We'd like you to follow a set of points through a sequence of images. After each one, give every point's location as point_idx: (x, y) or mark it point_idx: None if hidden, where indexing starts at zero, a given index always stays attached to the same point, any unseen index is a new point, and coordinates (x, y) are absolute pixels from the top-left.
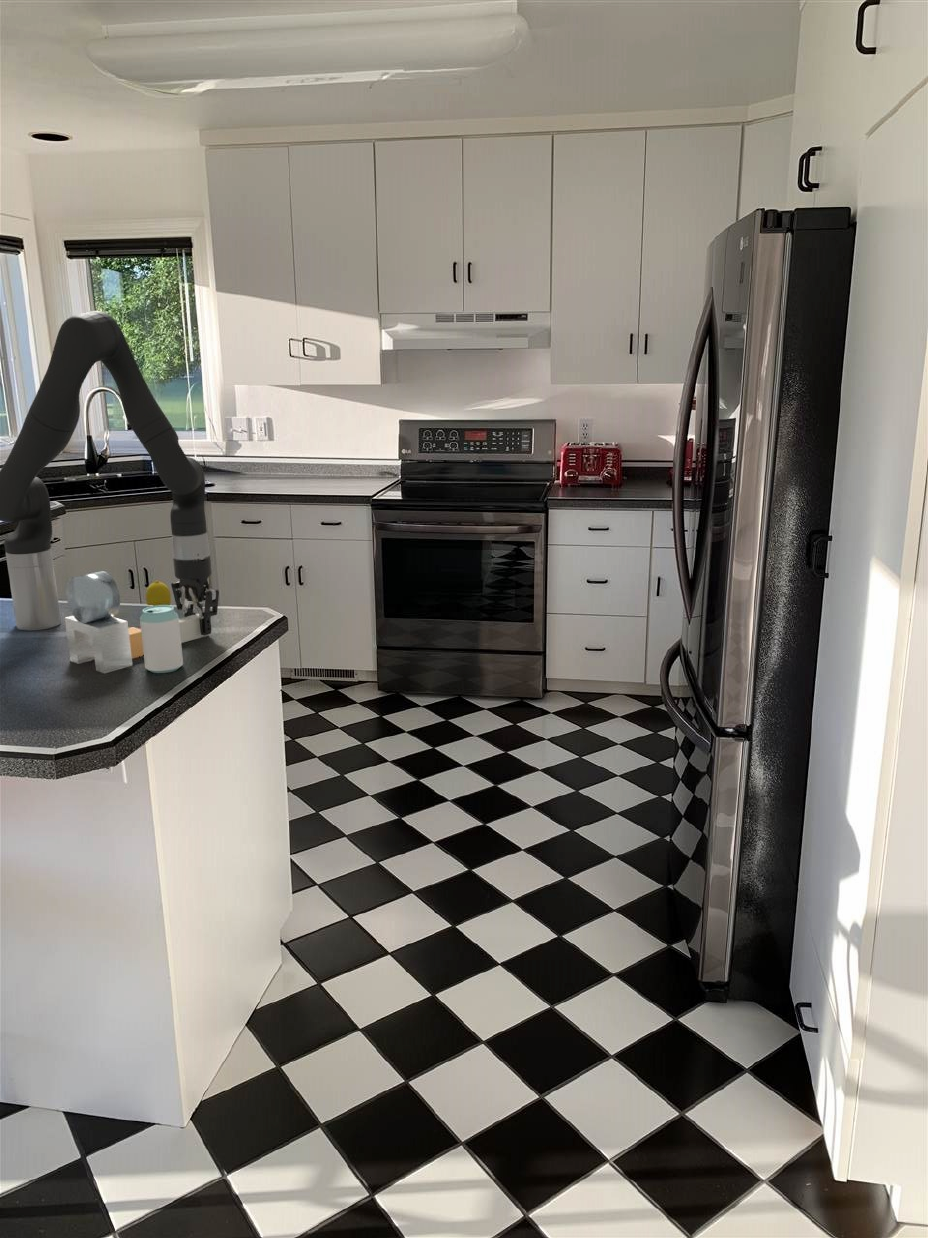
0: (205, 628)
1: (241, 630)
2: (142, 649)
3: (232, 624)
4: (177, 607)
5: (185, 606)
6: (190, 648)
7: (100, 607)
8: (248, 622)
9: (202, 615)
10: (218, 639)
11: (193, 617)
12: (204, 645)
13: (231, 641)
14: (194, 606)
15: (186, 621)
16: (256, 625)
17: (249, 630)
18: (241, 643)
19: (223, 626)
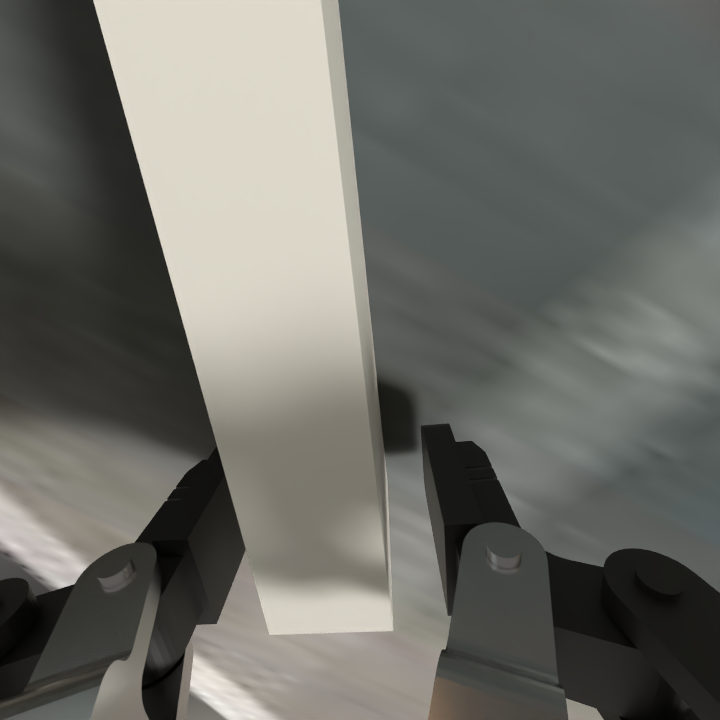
0: (180, 488)
1: (262, 636)
2: None
3: (409, 662)
4: (665, 573)
5: (460, 639)
6: (71, 240)
7: None
8: (375, 714)
9: (73, 587)
10: (173, 482)
11: (290, 526)
12: (90, 355)
13: (81, 508)
14: (98, 695)
15: (211, 404)
16: (293, 709)
17: (232, 656)
18: (6, 523)
19: (414, 621)
